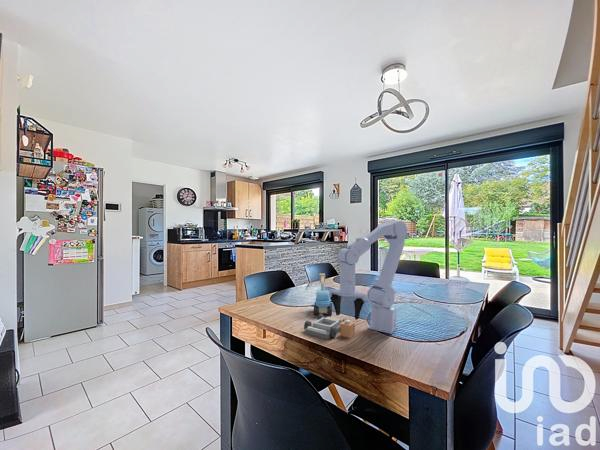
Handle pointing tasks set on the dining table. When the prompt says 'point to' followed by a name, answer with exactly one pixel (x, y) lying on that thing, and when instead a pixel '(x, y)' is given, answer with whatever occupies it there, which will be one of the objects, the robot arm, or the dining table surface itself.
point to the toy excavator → (322, 299)
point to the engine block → (347, 328)
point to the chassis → (323, 327)
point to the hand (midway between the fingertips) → (347, 316)
